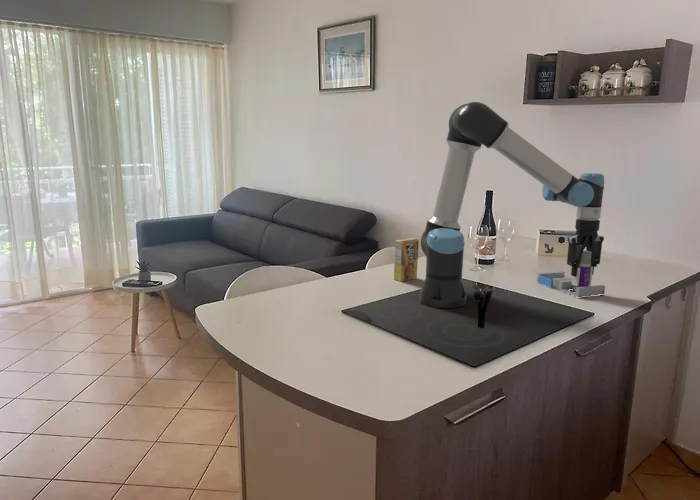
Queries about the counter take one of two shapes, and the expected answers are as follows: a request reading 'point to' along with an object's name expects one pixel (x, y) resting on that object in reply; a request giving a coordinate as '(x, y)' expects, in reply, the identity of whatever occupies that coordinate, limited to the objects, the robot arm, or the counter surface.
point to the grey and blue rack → (567, 284)
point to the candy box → (406, 259)
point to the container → (584, 269)
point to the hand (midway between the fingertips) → (581, 284)
